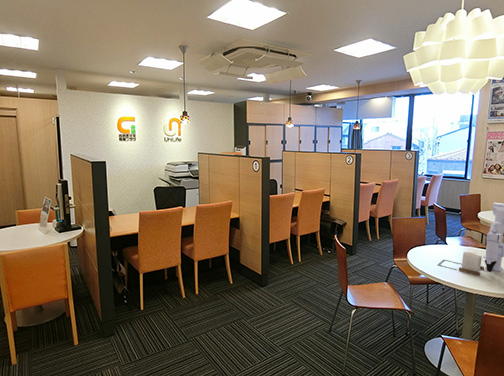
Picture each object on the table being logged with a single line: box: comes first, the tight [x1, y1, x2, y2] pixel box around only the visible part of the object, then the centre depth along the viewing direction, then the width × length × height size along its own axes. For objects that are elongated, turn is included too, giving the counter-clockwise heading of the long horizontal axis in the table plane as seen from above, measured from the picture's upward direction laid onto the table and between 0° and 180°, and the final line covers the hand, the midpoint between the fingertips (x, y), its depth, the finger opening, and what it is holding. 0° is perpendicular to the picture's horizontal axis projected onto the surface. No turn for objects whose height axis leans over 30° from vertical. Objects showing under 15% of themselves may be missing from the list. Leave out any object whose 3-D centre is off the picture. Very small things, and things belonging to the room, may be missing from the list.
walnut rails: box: [458, 265, 485, 277], centre depth 202 cm, size 14×11×2 cm
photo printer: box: [461, 250, 483, 273], centre depth 201 cm, size 10×4×12 cm, turn 31°
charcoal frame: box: [437, 259, 462, 271], centre depth 211 cm, size 15×12×1 cm
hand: (489, 271), depth 195 cm, fingers closed
